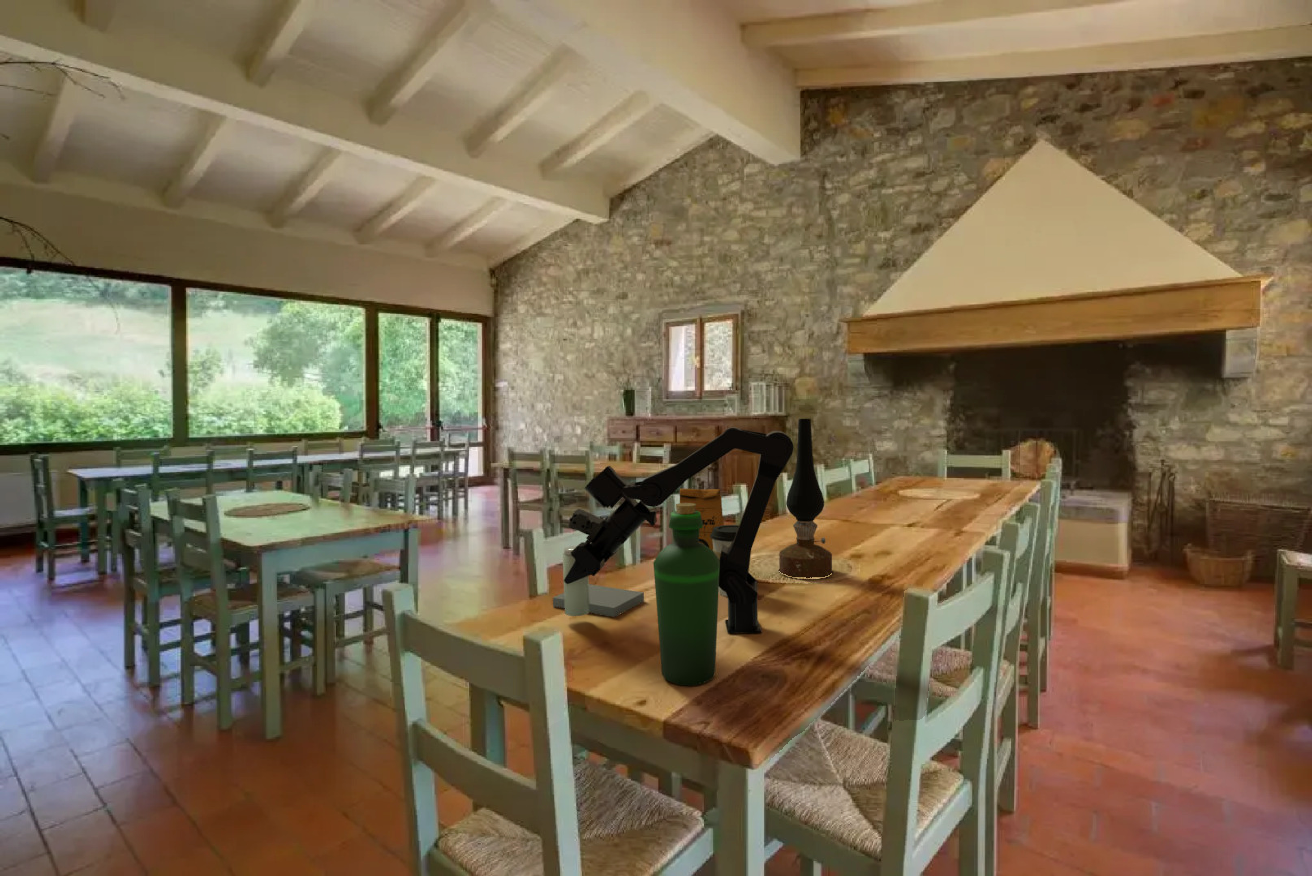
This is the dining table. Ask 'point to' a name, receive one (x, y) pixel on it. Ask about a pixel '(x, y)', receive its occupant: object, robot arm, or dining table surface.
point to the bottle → (687, 601)
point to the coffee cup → (723, 541)
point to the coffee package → (705, 510)
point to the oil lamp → (805, 515)
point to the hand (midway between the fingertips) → (569, 578)
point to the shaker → (575, 589)
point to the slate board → (607, 600)
